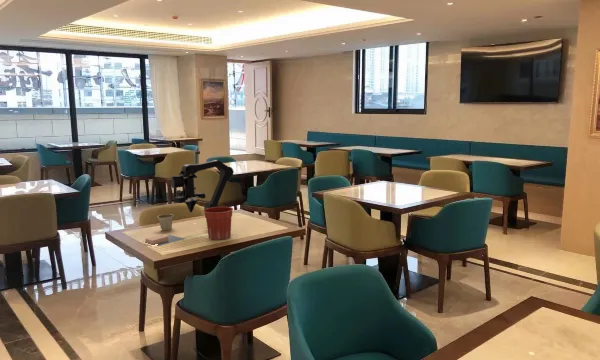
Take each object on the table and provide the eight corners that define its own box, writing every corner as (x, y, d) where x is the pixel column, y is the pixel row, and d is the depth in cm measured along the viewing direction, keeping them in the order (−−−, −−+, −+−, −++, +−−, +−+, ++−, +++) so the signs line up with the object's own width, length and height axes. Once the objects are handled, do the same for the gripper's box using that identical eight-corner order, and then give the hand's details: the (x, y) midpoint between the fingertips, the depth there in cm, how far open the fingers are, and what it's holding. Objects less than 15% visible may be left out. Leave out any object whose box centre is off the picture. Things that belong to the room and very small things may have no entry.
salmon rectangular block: (160, 234, 275) (145, 238, 268) (168, 236, 271) (152, 240, 263) (161, 239, 276) (145, 243, 268) (168, 241, 271) (152, 245, 264)
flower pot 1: (172, 231, 294) (171, 217, 293) (156, 232, 294) (155, 217, 293) (176, 227, 303) (175, 214, 302) (161, 228, 304) (160, 214, 302)
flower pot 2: (230, 232, 288) (229, 205, 286) (237, 239, 273) (236, 210, 270) (202, 235, 282) (201, 208, 280) (208, 242, 267) (206, 213, 265)
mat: (170, 235, 285) (170, 234, 284) (185, 239, 275) (185, 238, 275) (139, 243, 270) (139, 242, 269) (154, 248, 260) (154, 247, 260)
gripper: (193, 182, 300) (195, 207, 302) (167, 187, 286) (169, 213, 288) (205, 184, 293) (206, 209, 295) (179, 188, 279) (181, 215, 281)
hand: (191, 212), depth 290 cm, fingers closed
